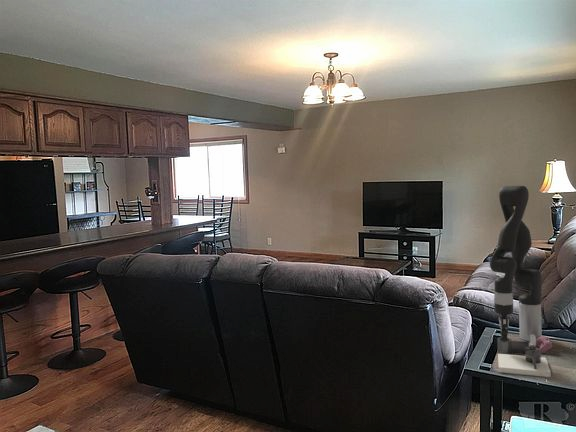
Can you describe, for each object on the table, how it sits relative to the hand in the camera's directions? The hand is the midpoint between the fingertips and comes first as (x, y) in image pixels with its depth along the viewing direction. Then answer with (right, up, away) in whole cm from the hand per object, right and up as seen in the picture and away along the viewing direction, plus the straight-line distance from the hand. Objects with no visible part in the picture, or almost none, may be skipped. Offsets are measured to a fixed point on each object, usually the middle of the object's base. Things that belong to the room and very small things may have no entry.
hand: (504, 338), depth 202 cm
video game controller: (+18, -6, +2) cm, 19 cm away
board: (+1, -8, -15) cm, 17 cm away
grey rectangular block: (+4, -7, 0) cm, 7 cm away
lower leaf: (+4, -6, -17) cm, 18 cm away
